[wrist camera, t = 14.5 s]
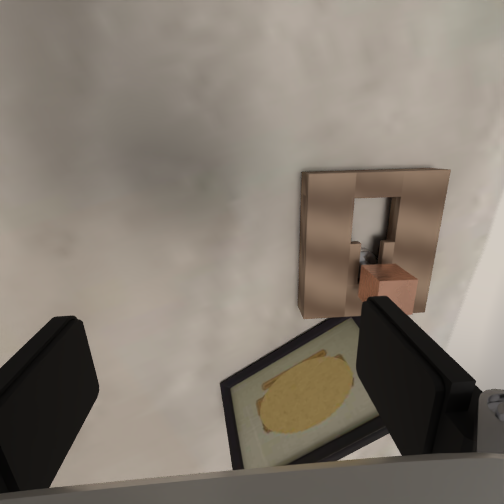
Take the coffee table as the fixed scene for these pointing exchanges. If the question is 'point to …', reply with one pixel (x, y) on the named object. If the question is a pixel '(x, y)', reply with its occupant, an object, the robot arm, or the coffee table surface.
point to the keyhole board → (348, 253)
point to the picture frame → (301, 402)
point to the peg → (386, 282)
